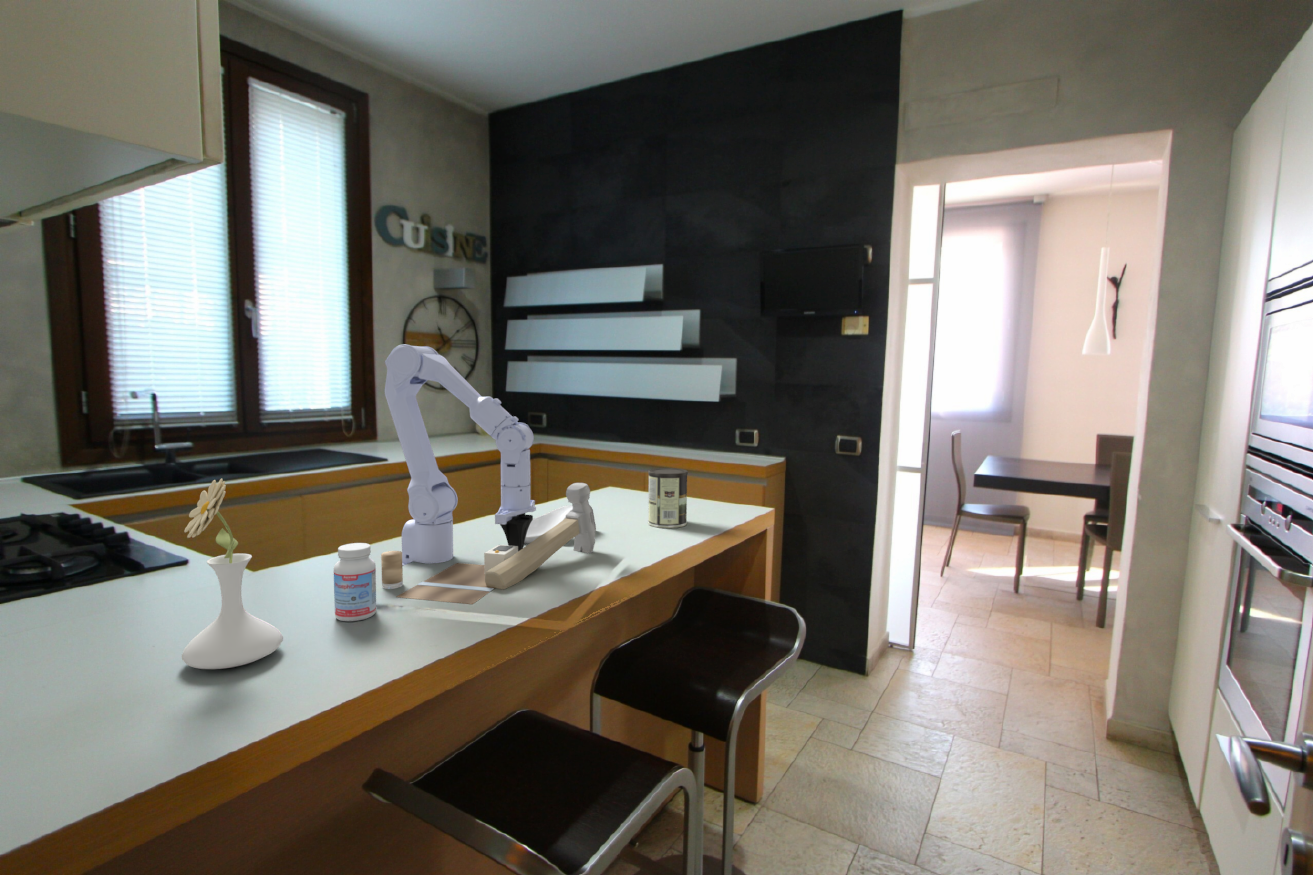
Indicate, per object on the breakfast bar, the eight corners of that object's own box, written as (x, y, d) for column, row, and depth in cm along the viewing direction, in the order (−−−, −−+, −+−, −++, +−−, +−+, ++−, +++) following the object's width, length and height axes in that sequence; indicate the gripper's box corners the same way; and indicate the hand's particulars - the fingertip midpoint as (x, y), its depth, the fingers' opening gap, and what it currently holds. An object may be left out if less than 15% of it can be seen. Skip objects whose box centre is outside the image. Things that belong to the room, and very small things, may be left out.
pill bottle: (331, 624, 98) (328, 552, 97) (339, 610, 104) (337, 542, 103) (373, 620, 100) (371, 550, 98) (379, 606, 105) (377, 540, 104)
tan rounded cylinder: (378, 594, 111) (376, 555, 111) (390, 588, 115) (389, 550, 114) (395, 596, 111) (394, 556, 110) (407, 589, 114) (406, 551, 113)
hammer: (496, 547, 109) (592, 483, 134) (475, 543, 111) (573, 481, 136) (511, 626, 113) (601, 550, 138) (491, 621, 115) (583, 547, 140)
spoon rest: (530, 554, 138) (530, 521, 138) (497, 544, 146) (496, 513, 145) (606, 534, 157) (606, 505, 156) (573, 526, 164) (573, 499, 163)
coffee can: (673, 517, 174) (674, 466, 173) (694, 525, 165) (695, 472, 164) (640, 521, 169) (641, 469, 168) (660, 530, 160) (661, 474, 159)
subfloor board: (395, 603, 107) (395, 596, 107) (456, 568, 126) (456, 562, 126) (472, 611, 104) (472, 603, 104) (522, 574, 123) (522, 567, 123)
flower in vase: (194, 648, 89) (184, 470, 86) (288, 635, 93) (281, 467, 91) (166, 691, 77) (154, 486, 74) (276, 674, 81) (267, 481, 79)
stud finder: (484, 573, 119) (484, 550, 118) (498, 564, 124) (498, 542, 124) (504, 575, 118) (504, 552, 117) (518, 566, 124) (517, 544, 123)
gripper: (519, 492, 118) (519, 563, 119) (548, 480, 132) (548, 544, 134) (484, 490, 120) (485, 561, 121) (516, 478, 134) (517, 541, 135)
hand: (516, 551), depth 127 cm, fingers closed
